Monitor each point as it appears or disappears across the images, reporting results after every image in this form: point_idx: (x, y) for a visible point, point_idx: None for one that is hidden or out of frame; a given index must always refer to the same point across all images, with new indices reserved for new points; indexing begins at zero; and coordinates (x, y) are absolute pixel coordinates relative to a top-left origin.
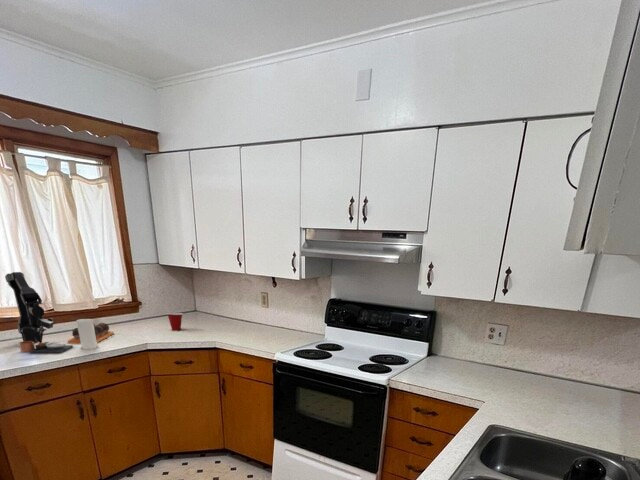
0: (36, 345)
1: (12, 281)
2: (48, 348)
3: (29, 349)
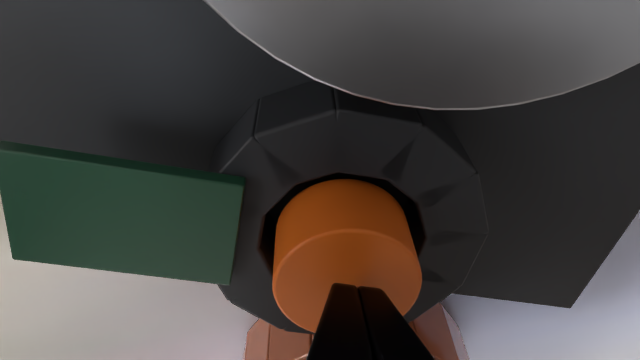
0: None
1: None
2: None
3: (462, 344)
